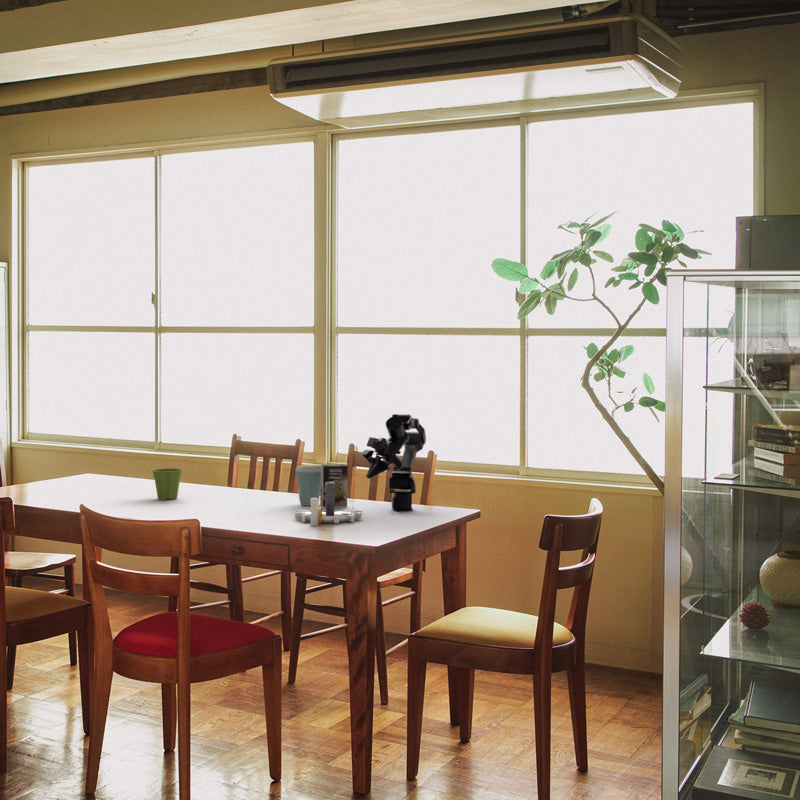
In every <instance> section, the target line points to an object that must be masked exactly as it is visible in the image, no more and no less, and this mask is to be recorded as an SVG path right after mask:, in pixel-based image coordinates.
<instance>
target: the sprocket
mask: <svg viewBox="0 0 800 800" xmlns="http://www.w3.org/2000/svg"><path fill="white" fill-rule="evenodd" d="M294 519H295V520H301V522H304V523H305V522H311V507H310V506H305V507H303V509H295V512H294ZM361 519H363V510H362V509H356V508H355V507H351V506H350V507H347V508H346V507H340V506H335V482H326V507H324V506H320V505H318V524H322V523H333V524H339V523H342V522H344V523H345V522H355V520H361Z"/></svg>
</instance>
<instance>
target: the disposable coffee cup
mask: <svg viewBox="0 0 800 800" xmlns="http://www.w3.org/2000/svg"><path fill="white" fill-rule="evenodd" d="M321 465H322V464H315V465H314V464H312V465H311V464H308V465H299V466H297V467H295V475H296V482H297V490H298V496H299V503H300V506H303V505H311V498H318V503H319V502H320V493H321Z"/></svg>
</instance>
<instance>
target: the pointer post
mask: <svg viewBox="0 0 800 800" xmlns="http://www.w3.org/2000/svg"><path fill="white" fill-rule="evenodd" d="M318 507H319V502H318V498H311V506H310V508H311V521H310V527H318V526H319V523H318Z"/></svg>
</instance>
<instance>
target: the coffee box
mask: <svg viewBox="0 0 800 800" xmlns="http://www.w3.org/2000/svg"><path fill="white" fill-rule="evenodd" d="M320 465H321V490H320V496H319V502H320V503H319V504H320V505H319V506H324V507H326V482H335V506H340V507H346V508H348V475H349V474H348V472H349V471H348V467H349V466H348V465H346V464H340V463H339V464H337V463H336V464H320Z"/></svg>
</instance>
